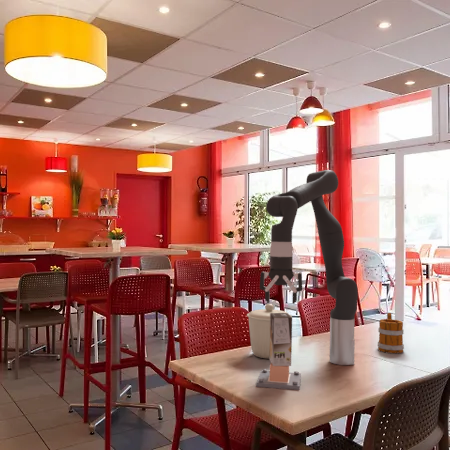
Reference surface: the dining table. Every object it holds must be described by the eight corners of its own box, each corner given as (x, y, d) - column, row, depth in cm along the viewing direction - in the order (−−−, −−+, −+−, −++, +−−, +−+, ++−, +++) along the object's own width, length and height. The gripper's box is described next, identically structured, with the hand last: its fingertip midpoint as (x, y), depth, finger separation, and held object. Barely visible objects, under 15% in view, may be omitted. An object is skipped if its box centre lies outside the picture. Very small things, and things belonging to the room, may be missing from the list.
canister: (238, 352, 201) (239, 301, 201) (274, 348, 210) (275, 299, 210) (261, 364, 185) (262, 308, 185) (299, 358, 194) (300, 305, 194)
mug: (378, 352, 206) (379, 317, 206) (375, 344, 222) (376, 311, 222) (405, 354, 203) (406, 319, 203) (400, 345, 219) (401, 312, 219)
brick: (289, 374, 168) (289, 359, 168) (287, 382, 160) (288, 366, 160) (271, 372, 170) (272, 358, 170) (269, 380, 161) (269, 365, 161)
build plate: (300, 376, 170) (300, 371, 170) (299, 389, 156) (299, 383, 156) (260, 373, 173) (261, 368, 173) (256, 386, 159) (256, 380, 159)
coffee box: (292, 366, 160) (292, 317, 160) (272, 366, 160) (273, 317, 160) (286, 358, 169) (287, 312, 170) (268, 358, 169) (269, 312, 169)
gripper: (302, 255, 167) (302, 302, 167) (261, 254, 170) (261, 300, 169) (302, 256, 160) (301, 305, 160) (259, 255, 162) (258, 304, 162)
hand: (280, 303), depth 164 cm, fingers open, 8 cm apart
